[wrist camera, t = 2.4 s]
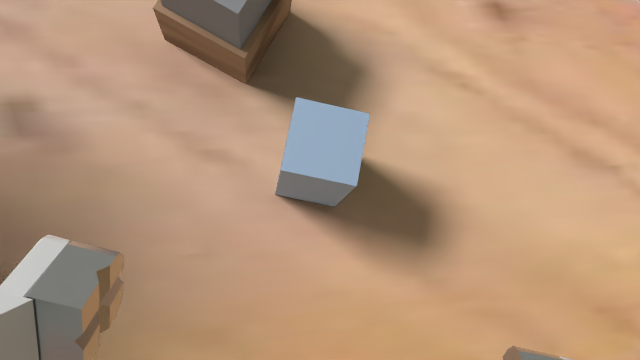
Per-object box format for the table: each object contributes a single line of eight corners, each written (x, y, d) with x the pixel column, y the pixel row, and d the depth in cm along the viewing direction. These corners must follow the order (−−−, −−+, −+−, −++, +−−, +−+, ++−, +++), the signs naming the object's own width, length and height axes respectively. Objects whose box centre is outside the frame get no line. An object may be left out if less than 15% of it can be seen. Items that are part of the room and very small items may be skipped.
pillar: (334, 206, 40) (356, 186, 31) (275, 194, 40) (280, 170, 31) (345, 149, 41) (370, 113, 32) (287, 136, 41) (296, 97, 32)
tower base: (246, 84, 41) (244, 58, 36) (165, 40, 41) (152, 7, 36) (289, 12, 43) (294, -23, 38) (212, -31, 42) (206, -72, 38)
